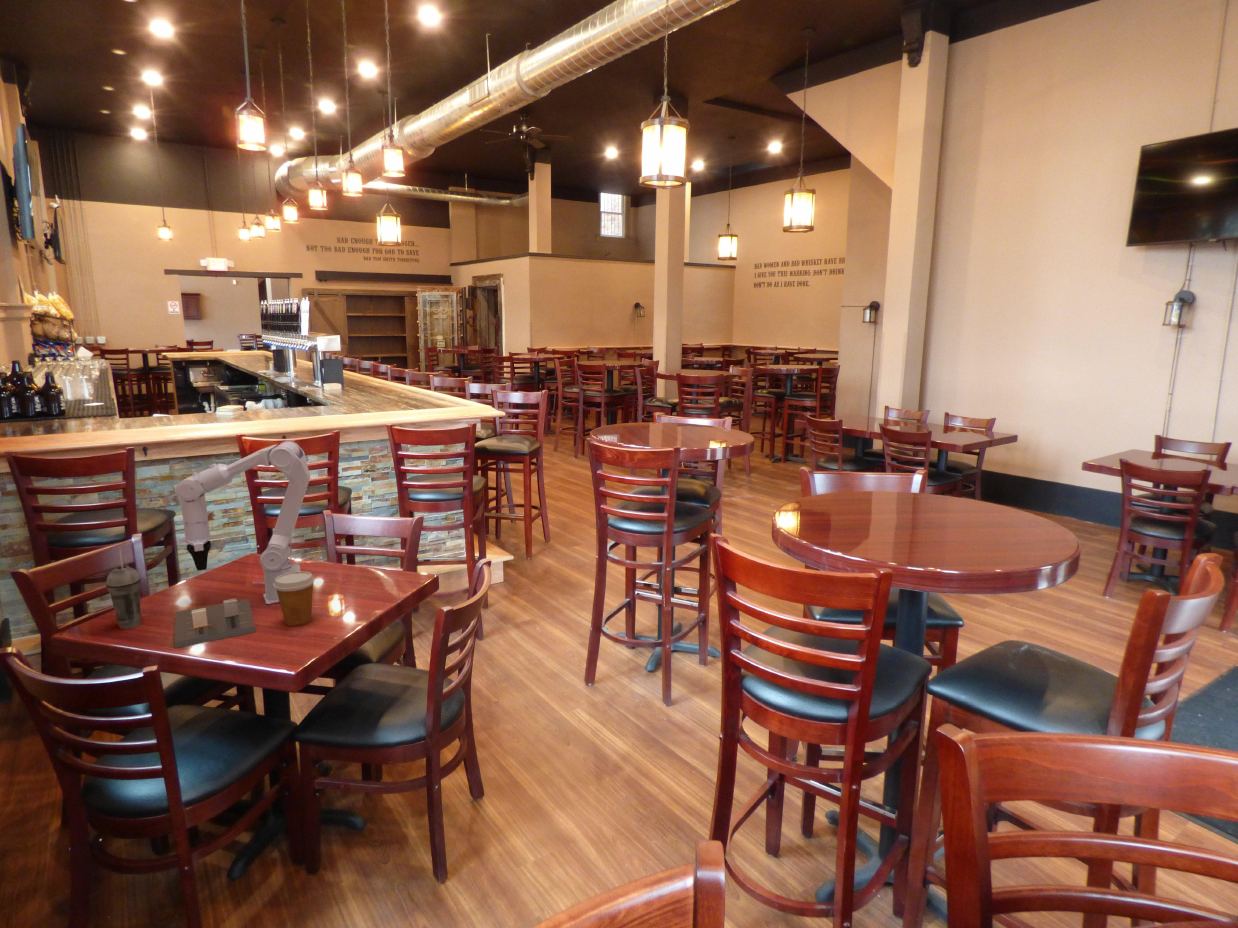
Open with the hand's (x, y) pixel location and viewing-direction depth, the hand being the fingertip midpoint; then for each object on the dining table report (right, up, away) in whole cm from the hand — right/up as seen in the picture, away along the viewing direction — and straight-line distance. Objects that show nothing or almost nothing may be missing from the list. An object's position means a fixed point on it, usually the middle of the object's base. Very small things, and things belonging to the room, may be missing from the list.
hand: (201, 569), depth 191 cm
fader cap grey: (+14, -10, -10) cm, 20 cm away
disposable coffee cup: (+31, -12, -10) cm, 34 cm away
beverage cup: (-11, -13, -12) cm, 21 cm away
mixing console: (+10, -12, -12) cm, 20 cm away
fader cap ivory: (+9, -12, -16) cm, 22 cm away
